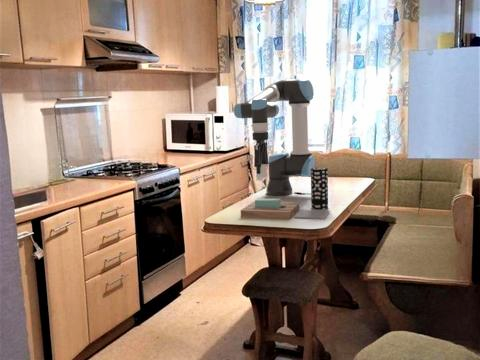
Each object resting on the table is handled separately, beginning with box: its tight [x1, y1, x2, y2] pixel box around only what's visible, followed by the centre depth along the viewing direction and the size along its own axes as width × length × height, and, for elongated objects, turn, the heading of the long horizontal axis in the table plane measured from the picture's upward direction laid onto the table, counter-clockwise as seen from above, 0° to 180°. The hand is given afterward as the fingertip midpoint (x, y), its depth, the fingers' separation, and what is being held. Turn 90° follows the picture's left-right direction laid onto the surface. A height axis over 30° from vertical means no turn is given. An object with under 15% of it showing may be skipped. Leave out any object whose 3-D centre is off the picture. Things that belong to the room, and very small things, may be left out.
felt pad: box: [294, 209, 331, 220], centre depth 244 cm, size 14×14×1 cm
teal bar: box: [254, 198, 282, 208], centre depth 250 cm, size 4×12×5 cm, turn 71°
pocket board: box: [240, 200, 301, 220], centre depth 250 cm, size 20×24×4 cm
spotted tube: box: [310, 166, 329, 211], centre depth 257 cm, size 8×8×20 cm
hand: (261, 178), depth 249 cm, fingers open, 7 cm apart
